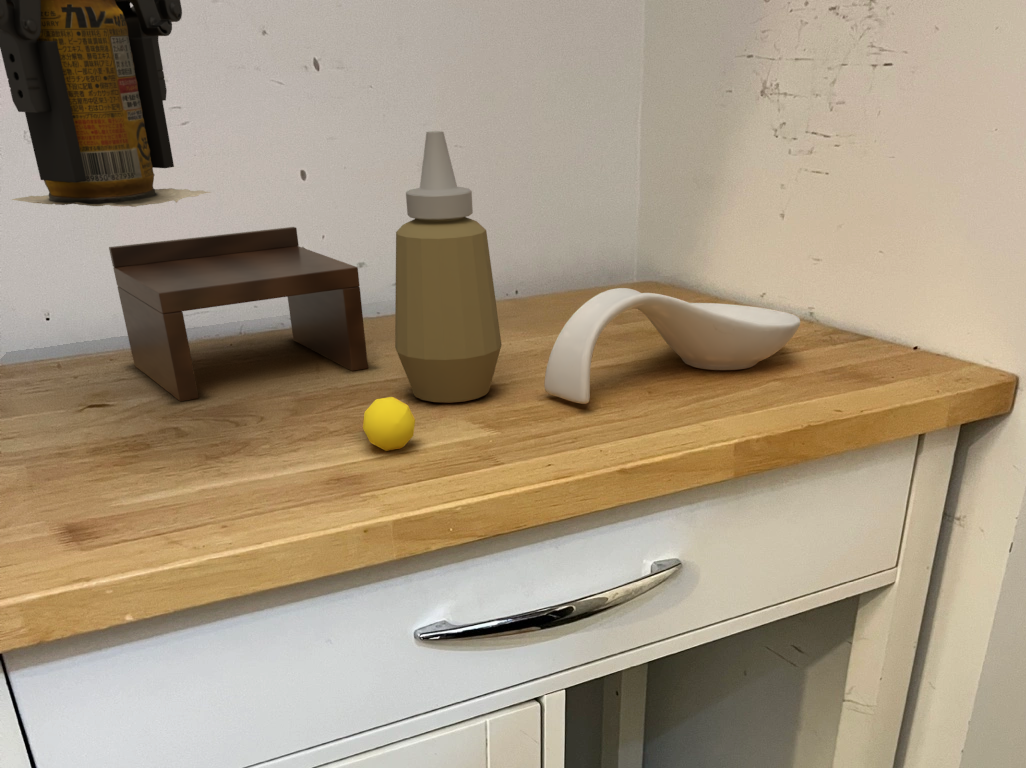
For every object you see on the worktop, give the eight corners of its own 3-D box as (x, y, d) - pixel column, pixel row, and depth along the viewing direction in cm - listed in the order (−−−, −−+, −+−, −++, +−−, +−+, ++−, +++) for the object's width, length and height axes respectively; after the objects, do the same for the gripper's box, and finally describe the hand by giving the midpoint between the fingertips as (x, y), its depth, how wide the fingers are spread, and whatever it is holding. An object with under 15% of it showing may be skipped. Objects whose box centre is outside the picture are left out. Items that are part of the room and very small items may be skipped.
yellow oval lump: (388, 460, 72) (362, 410, 70) (362, 459, 77) (338, 412, 76) (430, 436, 73) (406, 386, 71) (402, 437, 78) (379, 390, 77)
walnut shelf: (180, 401, 84) (154, 271, 79) (134, 365, 94) (108, 247, 89) (368, 368, 92) (356, 246, 86) (308, 338, 101) (294, 226, 96)
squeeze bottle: (418, 415, 80) (395, 139, 70) (386, 387, 86) (362, 130, 77) (519, 400, 83) (511, 132, 73) (481, 374, 89) (469, 124, 79)
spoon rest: (718, 337, 98) (724, 251, 94) (825, 361, 91) (836, 269, 87) (515, 389, 85) (512, 292, 82) (619, 422, 78) (621, 318, 74)
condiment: (106, 187, 67) (57, -50, 61) (212, 195, 64) (173, -55, 58) (10, 204, 62) (-55, -54, 55) (121, 213, 59) (66, -60, 52)
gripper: (-145, -471, 41) (20, 199, 54) (202, -351, 55) (268, 158, 68) (-263, -437, 44) (-81, 191, 57) (95, -331, 58) (177, 153, 71)
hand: (109, 172), depth 62 cm, fingers closed on condiment, 6 cm apart
